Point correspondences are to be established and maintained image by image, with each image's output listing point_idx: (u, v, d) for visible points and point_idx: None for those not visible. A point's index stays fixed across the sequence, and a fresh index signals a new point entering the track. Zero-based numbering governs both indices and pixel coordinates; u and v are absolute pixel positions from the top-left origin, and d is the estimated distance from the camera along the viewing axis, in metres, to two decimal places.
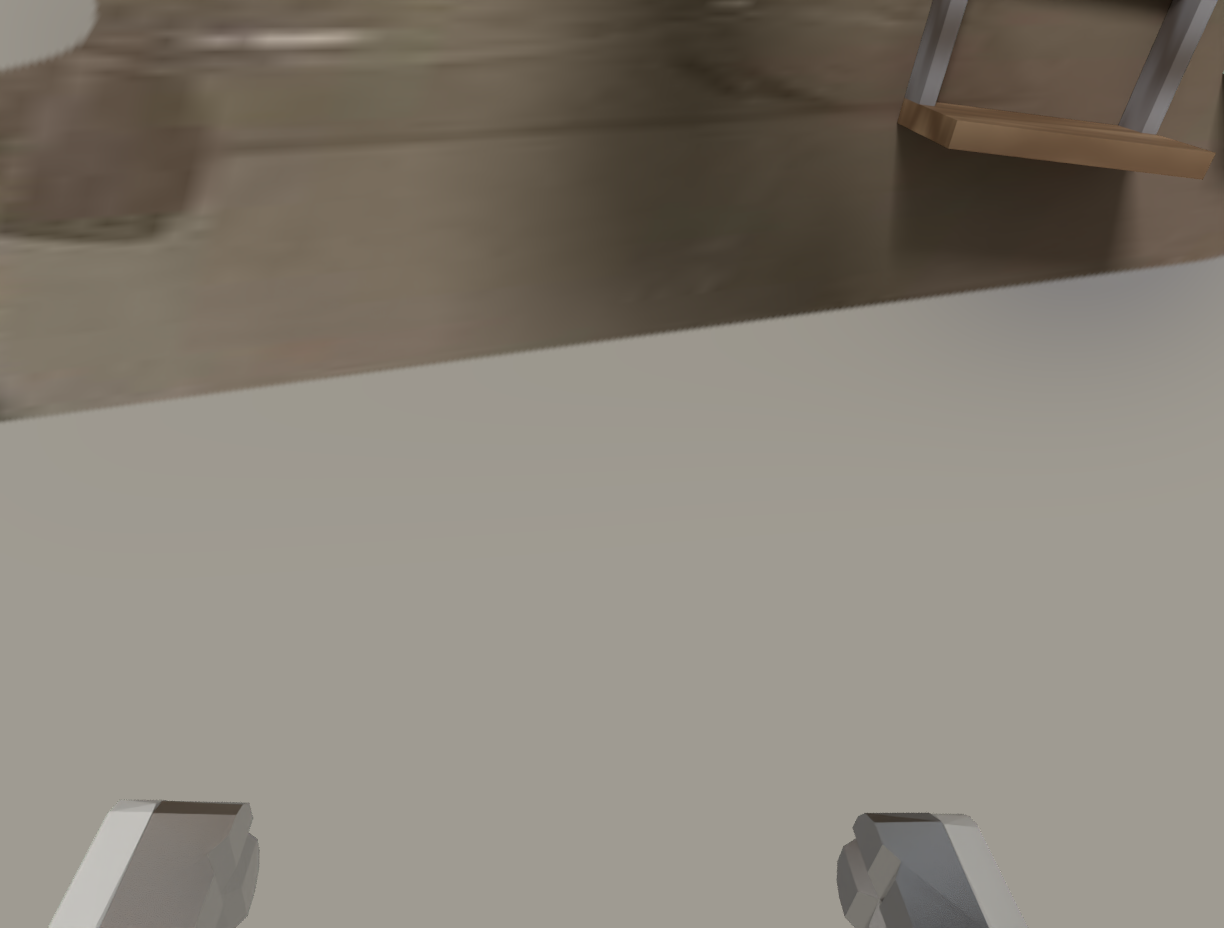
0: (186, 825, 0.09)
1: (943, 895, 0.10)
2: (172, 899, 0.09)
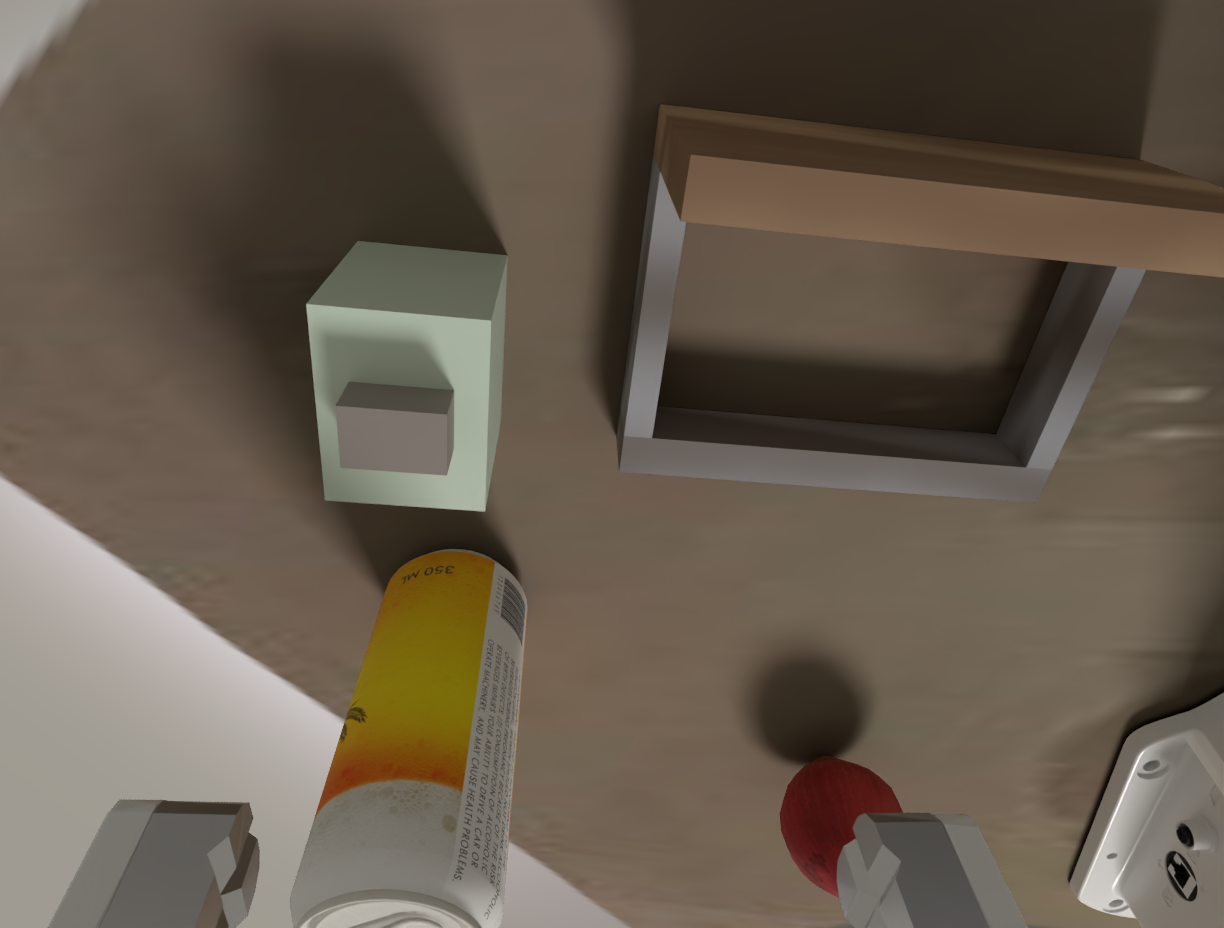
0: (186, 825, 0.09)
1: (943, 895, 0.10)
2: (172, 899, 0.09)
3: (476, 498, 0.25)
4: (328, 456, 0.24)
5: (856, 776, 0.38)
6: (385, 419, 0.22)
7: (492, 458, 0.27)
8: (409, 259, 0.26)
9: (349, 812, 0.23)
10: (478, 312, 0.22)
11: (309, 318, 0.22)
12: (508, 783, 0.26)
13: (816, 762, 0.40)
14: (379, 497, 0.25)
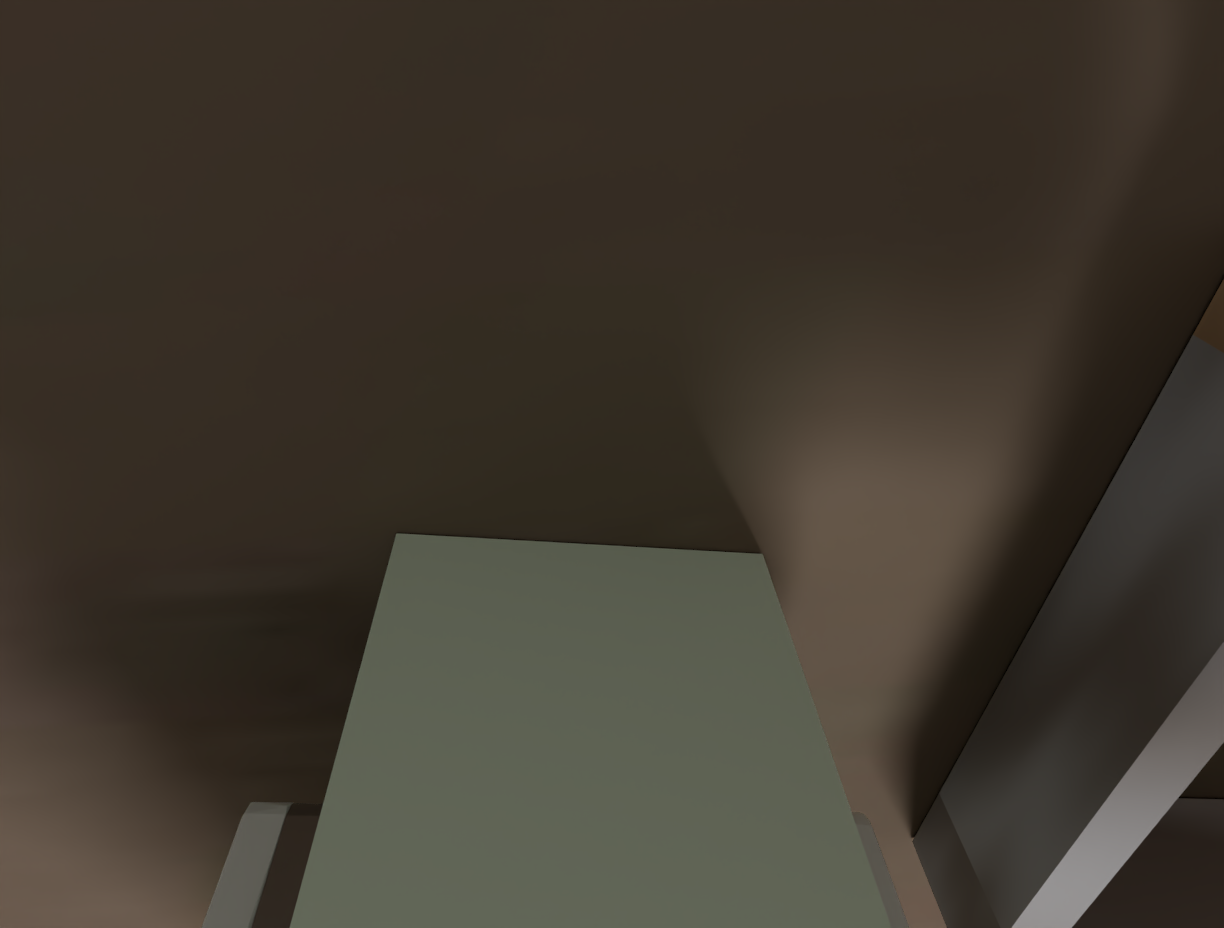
0: None
1: None
2: None
3: None
4: None
5: None
6: None
7: None
8: (544, 618, 0.09)
9: None
10: None
11: None
12: None
13: None
14: None
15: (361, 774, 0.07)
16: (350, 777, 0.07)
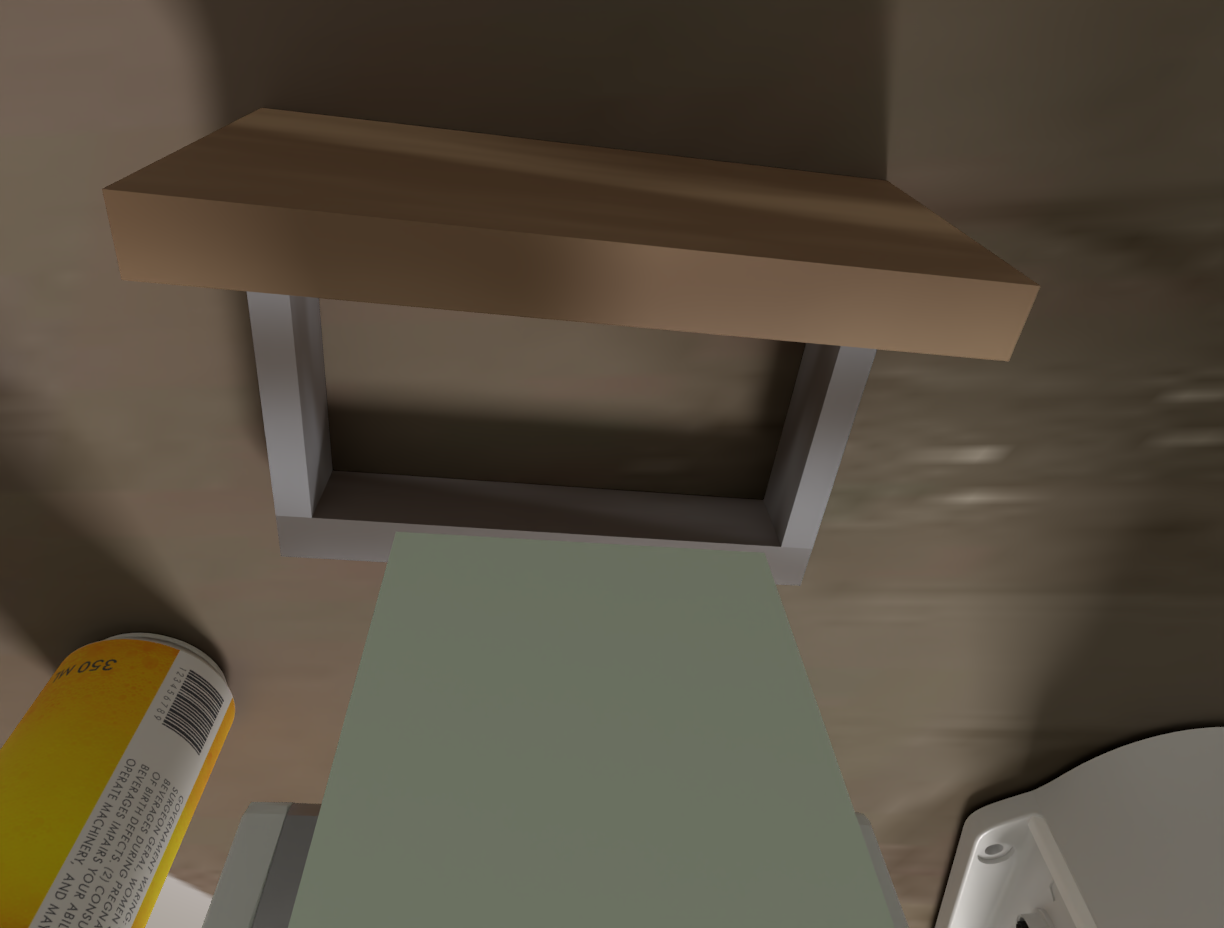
0: None
1: None
2: None
3: None
4: None
5: None
6: None
7: None
8: (543, 617, 0.09)
9: None
10: None
11: None
12: None
13: None
14: None
15: (360, 774, 0.07)
16: (349, 777, 0.07)
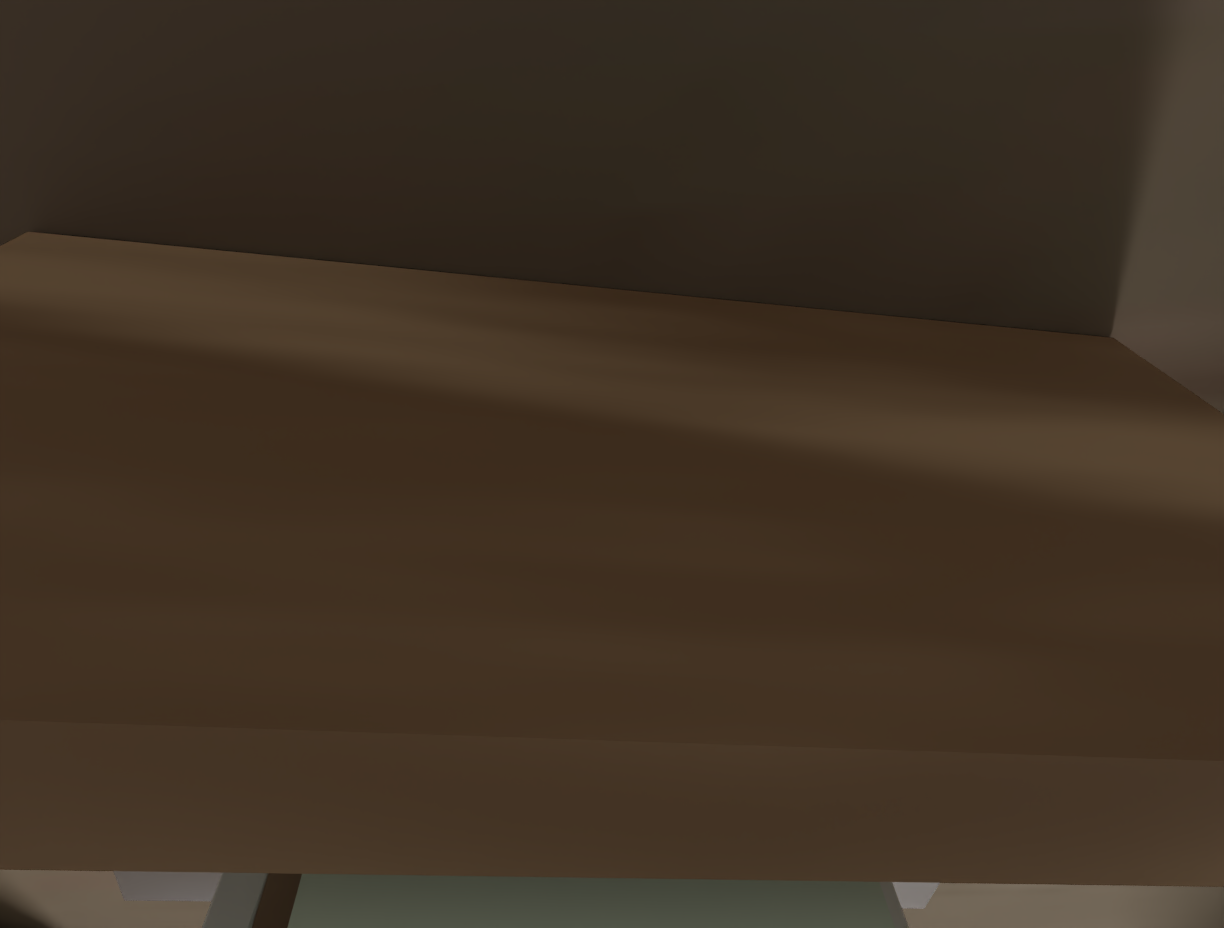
0: None
1: None
2: None
3: None
4: None
5: None
6: None
7: None
8: None
9: None
10: None
11: None
12: None
13: None
14: None
15: None
16: None
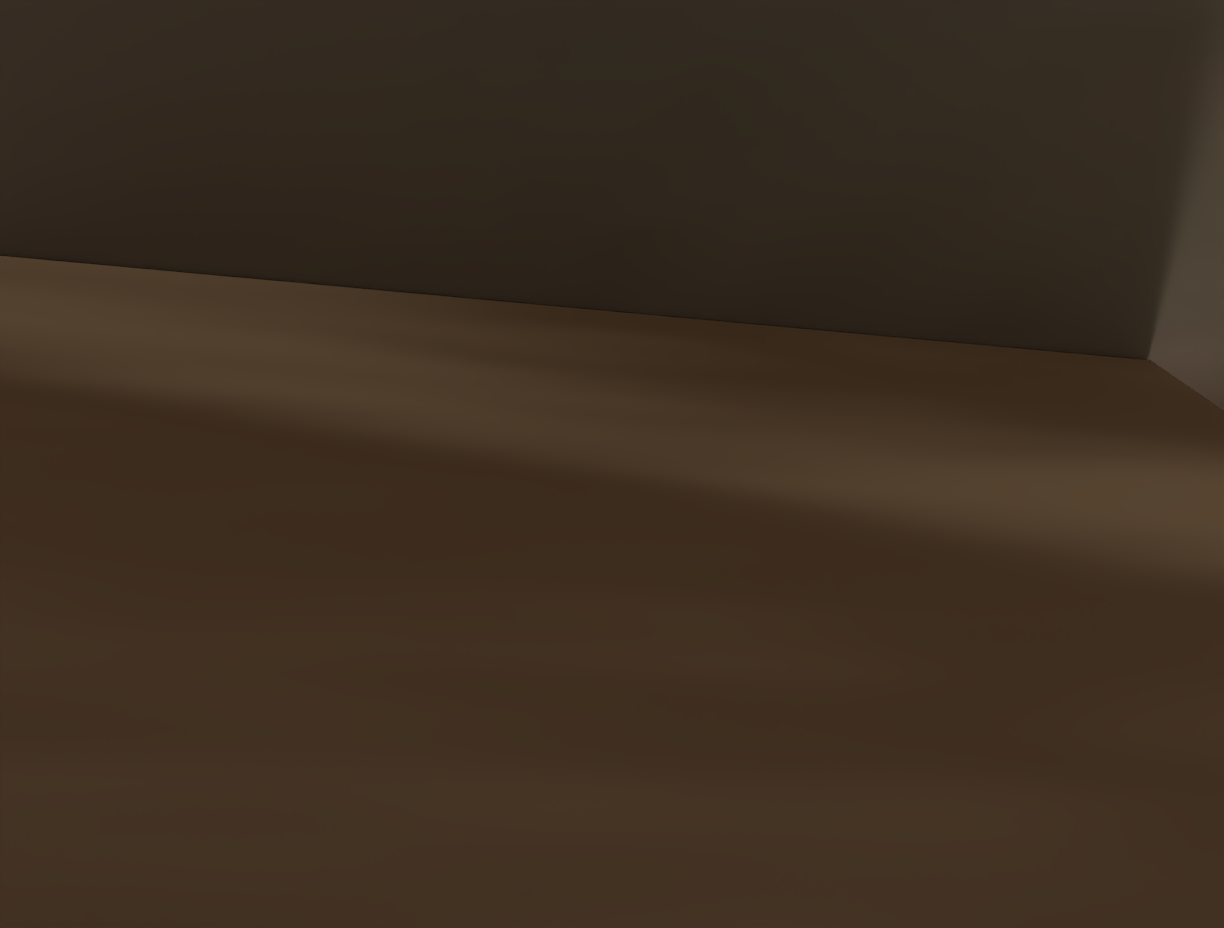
0: None
1: None
2: None
3: None
4: None
5: None
6: None
7: None
8: None
9: None
10: None
11: None
12: None
13: None
14: None
15: None
16: None
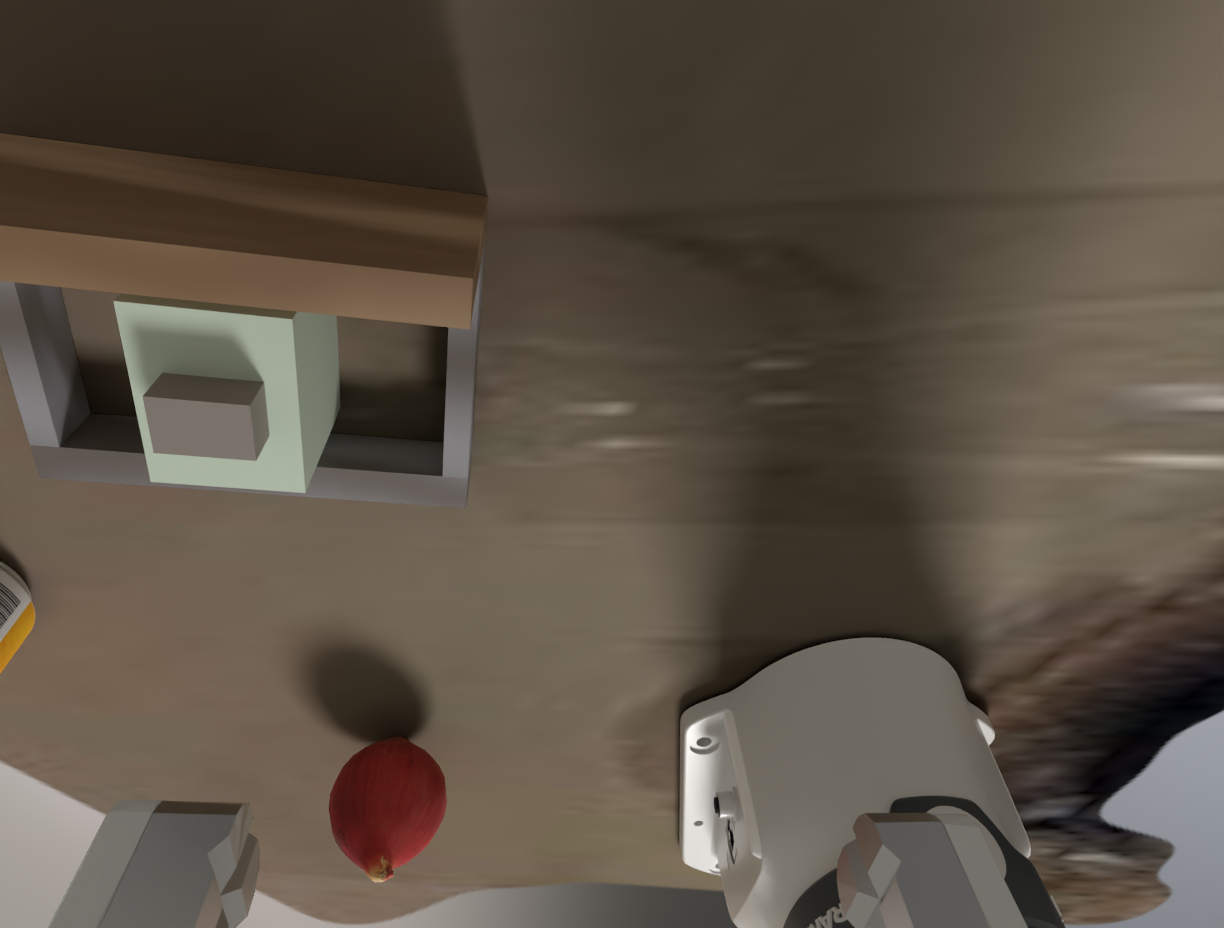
0: (186, 825, 0.09)
1: (942, 896, 0.10)
2: (172, 899, 0.09)
3: (295, 481, 0.27)
4: (149, 441, 0.26)
5: (392, 756, 0.40)
6: (191, 409, 0.24)
7: (320, 443, 0.29)
8: None
9: None
10: (283, 310, 0.24)
11: (118, 314, 0.23)
12: None
13: (373, 743, 0.42)
14: (202, 479, 0.27)
15: None
16: None
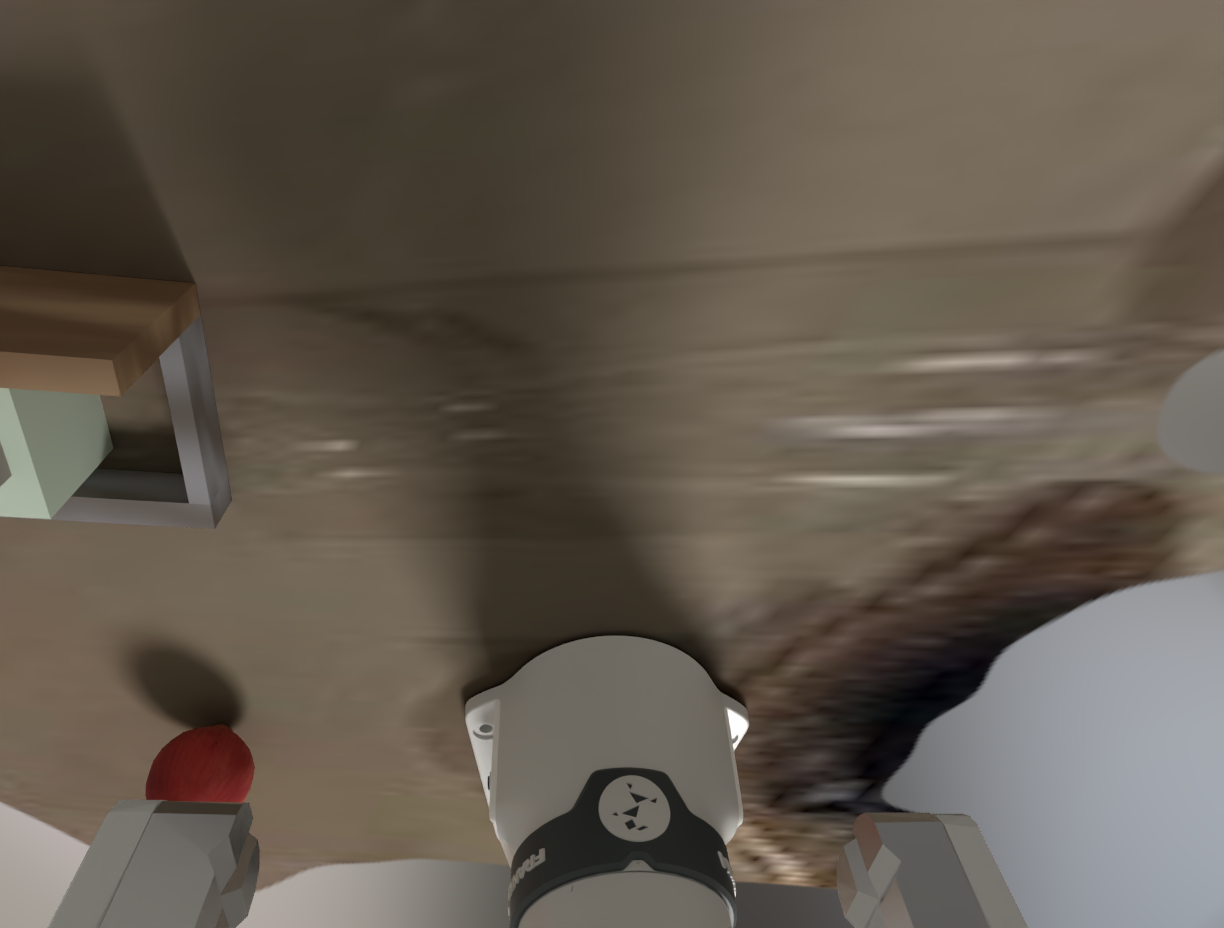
0: (186, 825, 0.09)
1: (943, 895, 0.10)
2: (172, 899, 0.09)
3: (40, 509, 0.35)
4: None
5: (200, 739, 0.48)
6: None
7: (75, 478, 0.37)
8: None
9: None
10: None
11: None
12: None
13: (192, 729, 0.49)
14: None
15: None
16: None
